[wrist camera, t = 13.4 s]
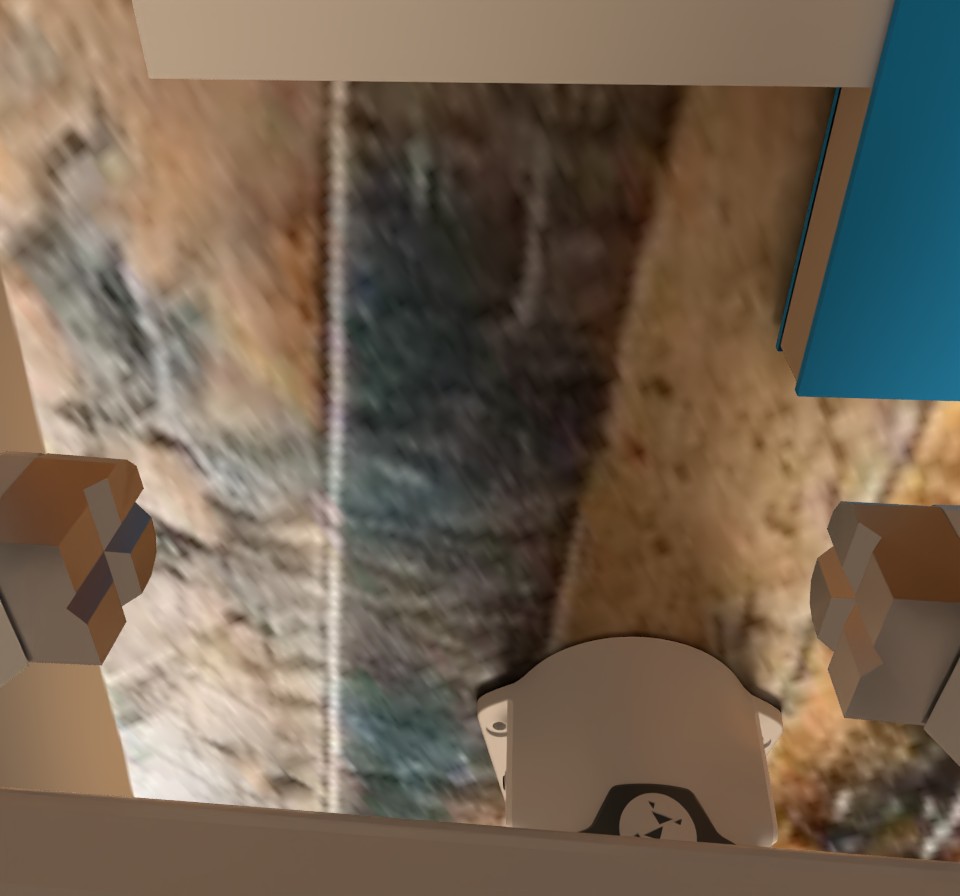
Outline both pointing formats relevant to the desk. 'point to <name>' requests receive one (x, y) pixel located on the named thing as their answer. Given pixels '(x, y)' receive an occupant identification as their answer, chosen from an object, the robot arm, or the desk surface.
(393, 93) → the desk surface
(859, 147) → the book
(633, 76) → the socket board
